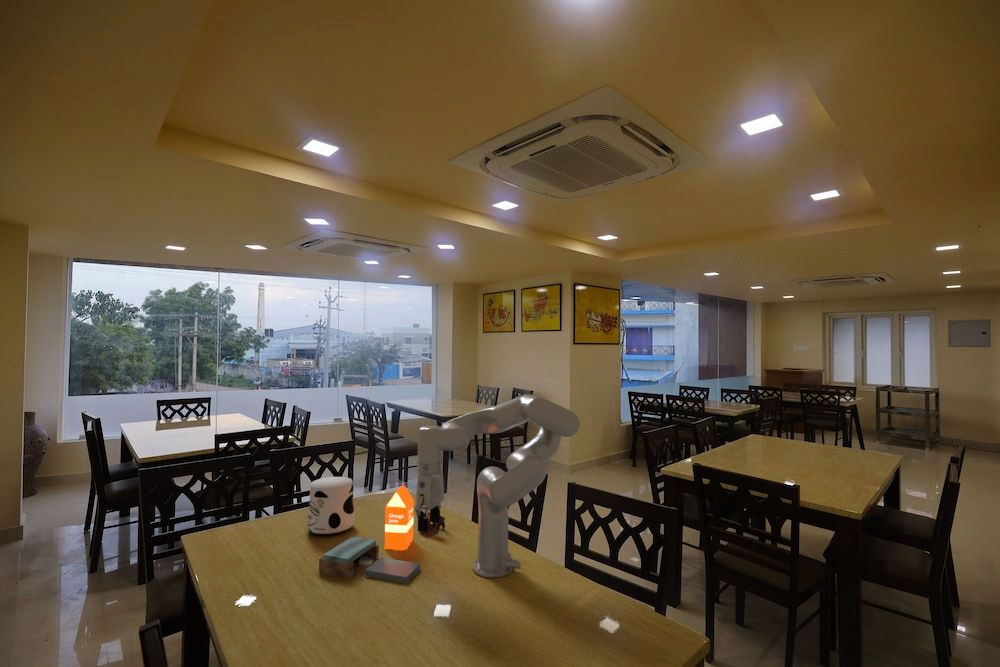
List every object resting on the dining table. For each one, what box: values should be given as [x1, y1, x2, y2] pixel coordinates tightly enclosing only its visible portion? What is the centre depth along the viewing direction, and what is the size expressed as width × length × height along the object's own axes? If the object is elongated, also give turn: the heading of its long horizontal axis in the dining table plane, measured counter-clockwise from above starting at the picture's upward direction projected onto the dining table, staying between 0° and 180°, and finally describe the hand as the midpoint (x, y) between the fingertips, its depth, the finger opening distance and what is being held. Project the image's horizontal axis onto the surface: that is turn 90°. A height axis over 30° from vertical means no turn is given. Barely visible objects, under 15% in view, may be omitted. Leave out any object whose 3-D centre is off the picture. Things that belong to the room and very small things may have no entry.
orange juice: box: [384, 484, 415, 551], centre depth 167 cm, size 8×9×20 cm
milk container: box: [306, 476, 356, 536], centre depth 180 cm, size 17×17×18 cm
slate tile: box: [364, 557, 421, 585], centre depth 146 cm, size 14×9×2 cm, turn 72°
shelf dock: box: [318, 536, 380, 580], centre depth 151 cm, size 12×15×6 cm
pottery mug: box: [418, 511, 446, 537], centre depth 178 cm, size 12×10×8 cm
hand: (429, 526), depth 143 cm, fingers open, 7 cm apart
